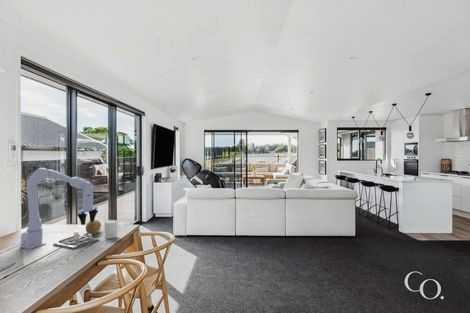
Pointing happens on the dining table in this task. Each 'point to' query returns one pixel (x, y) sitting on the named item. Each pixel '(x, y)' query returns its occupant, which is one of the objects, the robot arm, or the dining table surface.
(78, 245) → the panel
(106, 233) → the white cup
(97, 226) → the potato
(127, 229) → the dining table surface
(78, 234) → the breaker
